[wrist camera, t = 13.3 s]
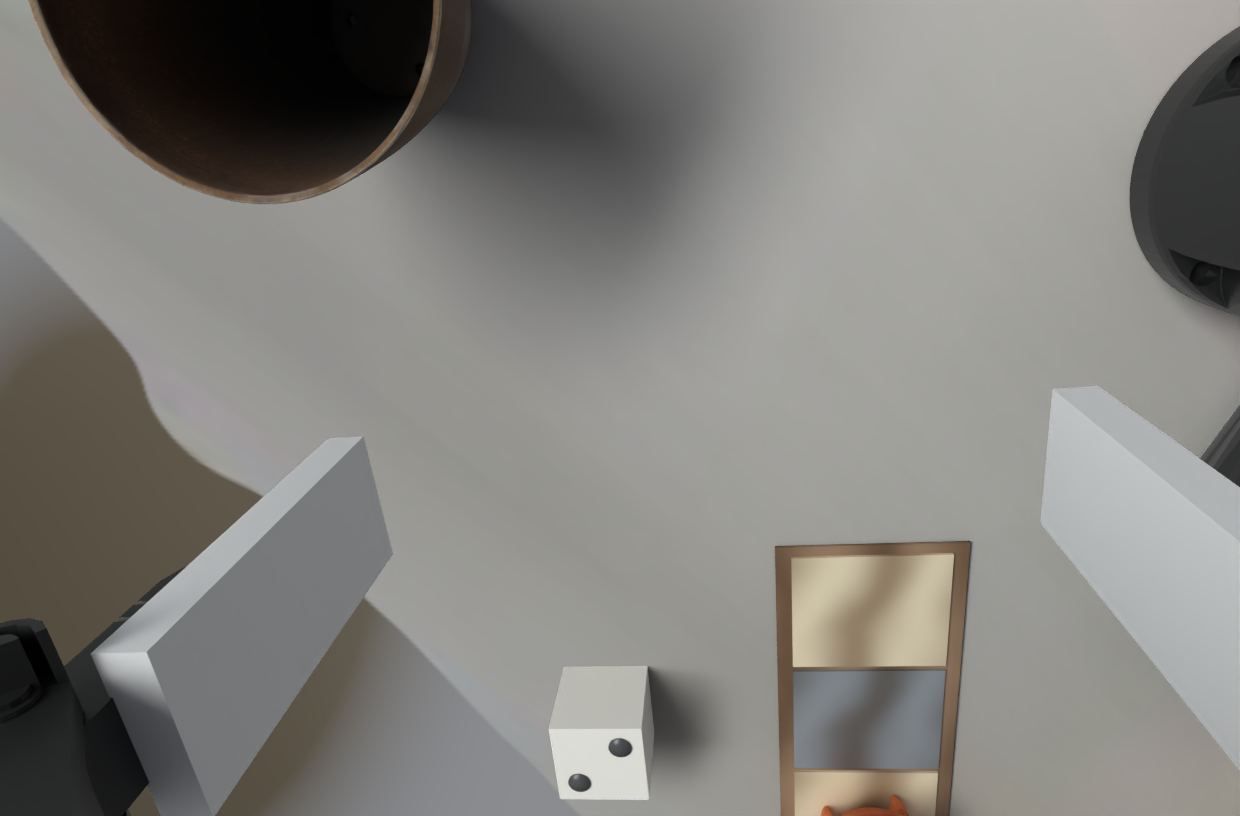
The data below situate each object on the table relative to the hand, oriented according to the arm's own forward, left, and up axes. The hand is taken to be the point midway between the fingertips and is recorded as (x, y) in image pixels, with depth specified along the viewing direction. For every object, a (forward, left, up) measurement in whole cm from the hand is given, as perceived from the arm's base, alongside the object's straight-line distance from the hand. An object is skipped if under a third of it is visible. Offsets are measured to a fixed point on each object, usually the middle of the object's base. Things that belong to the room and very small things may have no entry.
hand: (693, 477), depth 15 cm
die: (+8, +33, -31) cm, 46 cm away
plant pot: (+15, -12, -31) cm, 36 cm away
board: (-10, +39, -30) cm, 50 cm away
